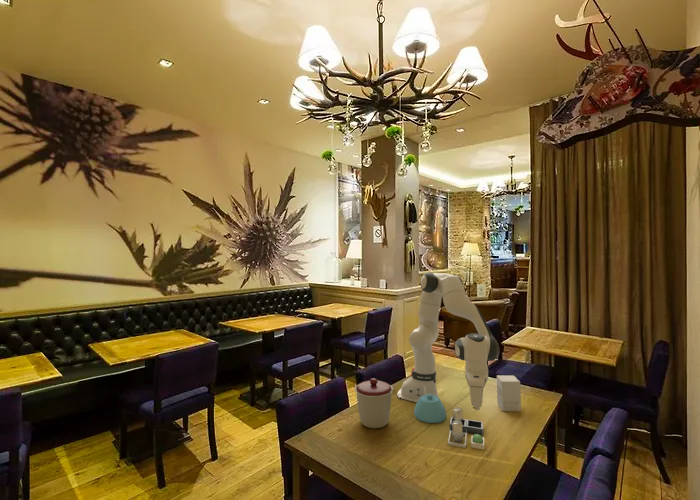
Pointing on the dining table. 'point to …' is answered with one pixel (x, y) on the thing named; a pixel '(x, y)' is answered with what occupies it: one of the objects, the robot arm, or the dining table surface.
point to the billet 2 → (457, 431)
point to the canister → (374, 402)
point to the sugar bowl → (430, 409)
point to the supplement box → (508, 393)
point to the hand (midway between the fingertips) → (477, 408)
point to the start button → (477, 438)
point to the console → (477, 444)
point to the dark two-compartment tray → (470, 426)
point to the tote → (457, 443)
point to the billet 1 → (458, 414)
